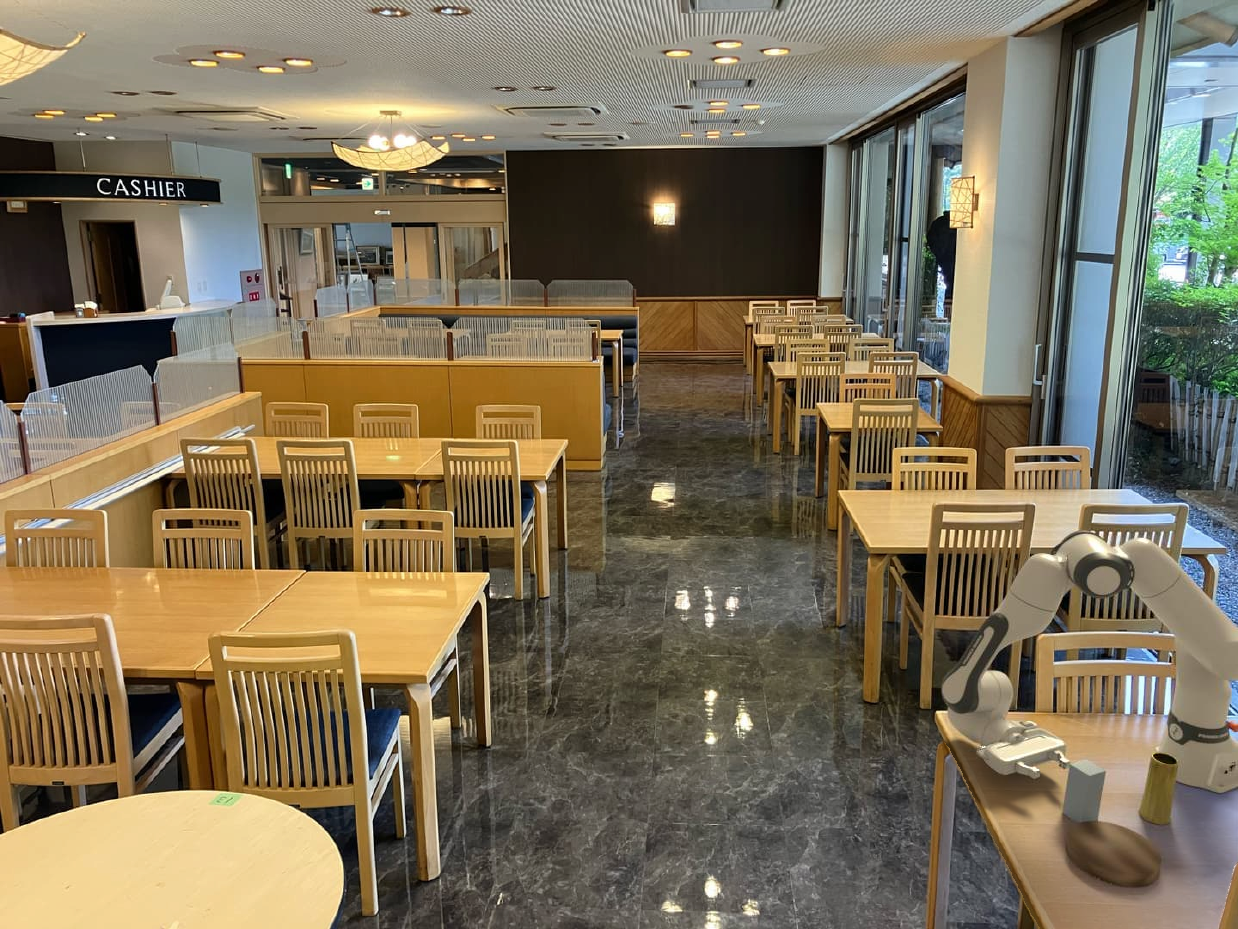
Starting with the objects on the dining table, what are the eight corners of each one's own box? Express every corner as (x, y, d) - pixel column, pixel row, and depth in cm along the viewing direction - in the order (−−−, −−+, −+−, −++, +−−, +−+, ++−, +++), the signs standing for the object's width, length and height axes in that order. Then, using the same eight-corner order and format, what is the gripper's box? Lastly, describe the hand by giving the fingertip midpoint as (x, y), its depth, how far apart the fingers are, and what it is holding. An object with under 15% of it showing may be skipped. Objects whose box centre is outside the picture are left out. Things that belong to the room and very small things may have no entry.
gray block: (1078, 807, 216) (1086, 759, 213) (1097, 820, 211) (1105, 770, 208) (1062, 812, 214) (1069, 764, 211) (1081, 825, 209) (1089, 776, 206)
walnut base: (1115, 828, 209) (1117, 816, 208) (1179, 879, 193) (1181, 866, 192) (1048, 840, 204) (1050, 827, 203) (1107, 893, 188) (1110, 880, 188)
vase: (1158, 828, 209) (1169, 769, 205) (1132, 812, 214) (1142, 754, 211) (1176, 820, 212) (1187, 762, 208) (1150, 805, 217) (1160, 748, 213)
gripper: (973, 737, 225) (1020, 768, 213) (1037, 720, 234) (1086, 748, 222) (970, 762, 227) (1017, 793, 215) (1034, 743, 235) (1082, 773, 223)
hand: (1053, 770), depth 218 cm, fingers open, 8 cm apart
